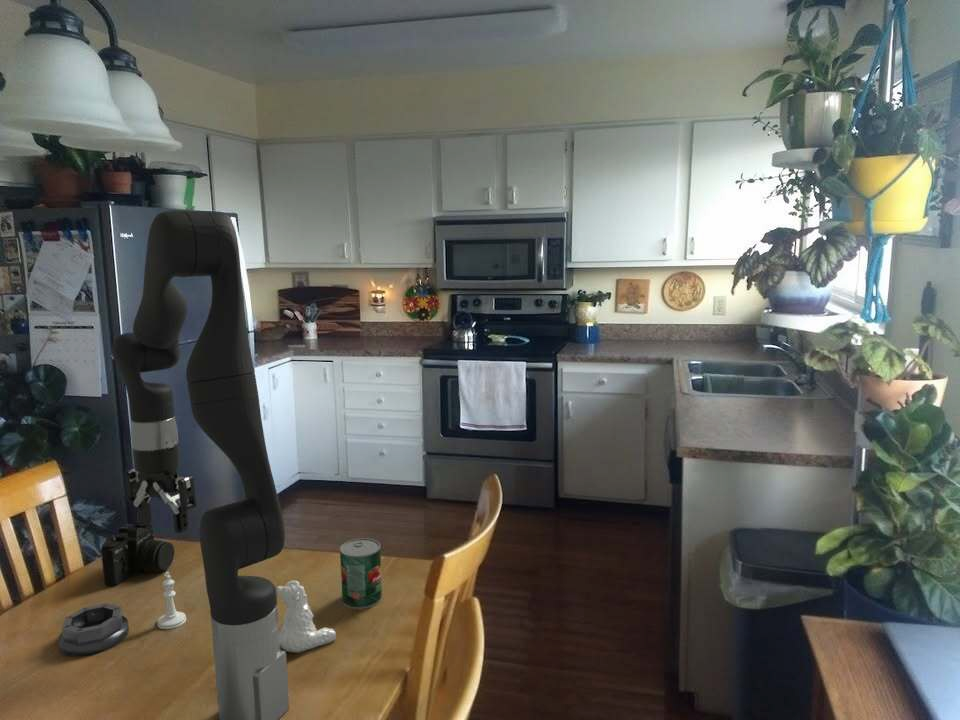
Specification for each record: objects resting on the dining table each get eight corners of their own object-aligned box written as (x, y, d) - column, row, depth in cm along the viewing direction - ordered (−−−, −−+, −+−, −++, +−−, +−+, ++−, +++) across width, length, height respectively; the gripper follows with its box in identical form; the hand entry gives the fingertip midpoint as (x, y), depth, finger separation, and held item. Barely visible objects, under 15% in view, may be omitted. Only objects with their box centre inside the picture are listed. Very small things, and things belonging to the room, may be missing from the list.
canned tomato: (386, 604, 133) (384, 551, 131) (346, 612, 130) (343, 559, 128) (377, 585, 140) (375, 535, 138) (338, 593, 137) (336, 542, 136)
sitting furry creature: (339, 639, 121) (336, 577, 119) (302, 664, 114) (298, 599, 112) (301, 624, 127) (298, 563, 124) (264, 647, 119) (260, 583, 117)
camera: (142, 590, 139) (138, 544, 137) (97, 586, 141) (92, 540, 139) (184, 559, 153) (180, 517, 151) (142, 555, 155) (138, 514, 153)
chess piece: (178, 612, 131) (173, 563, 129) (191, 620, 128) (186, 571, 126) (152, 623, 127) (147, 573, 125) (165, 632, 124) (160, 581, 122)
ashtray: (142, 627, 125) (140, 607, 125) (89, 662, 115) (87, 640, 115) (99, 616, 129) (97, 597, 129) (44, 648, 119) (41, 627, 119)
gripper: (107, 444, 120) (116, 530, 123) (169, 452, 115) (177, 542, 118) (142, 432, 127) (150, 514, 130) (202, 440, 122) (208, 525, 125)
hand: (163, 527), depth 124 cm, fingers open, 8 cm apart
